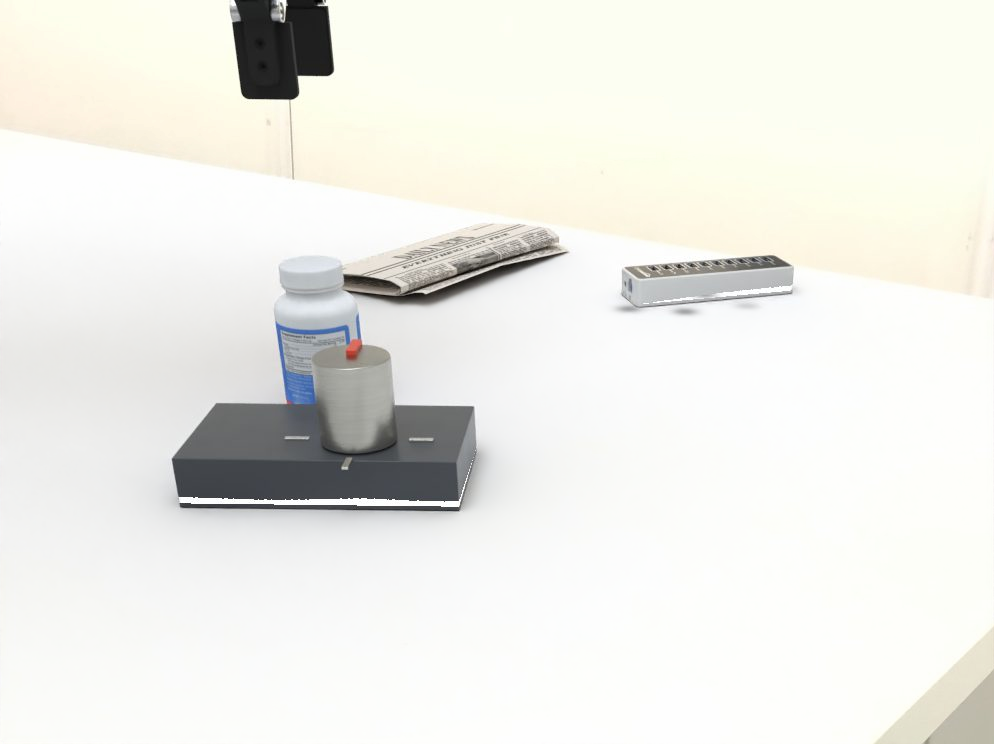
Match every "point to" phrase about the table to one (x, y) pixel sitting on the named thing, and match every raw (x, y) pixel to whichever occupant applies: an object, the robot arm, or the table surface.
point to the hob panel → (323, 458)
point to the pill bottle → (311, 319)
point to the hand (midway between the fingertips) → (290, 86)
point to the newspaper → (449, 258)
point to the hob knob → (354, 398)
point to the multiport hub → (704, 279)
